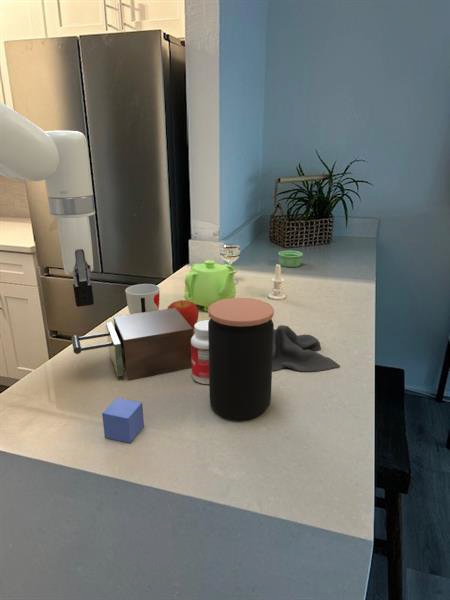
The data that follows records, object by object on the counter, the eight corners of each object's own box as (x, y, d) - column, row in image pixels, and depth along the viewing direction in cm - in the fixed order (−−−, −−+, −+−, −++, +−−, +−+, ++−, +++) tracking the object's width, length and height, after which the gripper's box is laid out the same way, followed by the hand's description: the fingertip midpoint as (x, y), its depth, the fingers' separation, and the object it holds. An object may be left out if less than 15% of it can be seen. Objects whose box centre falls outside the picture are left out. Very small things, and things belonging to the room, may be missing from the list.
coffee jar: (277, 394, 78) (281, 301, 72) (259, 429, 69) (262, 325, 63) (223, 383, 82) (222, 294, 76) (199, 414, 72) (196, 315, 66)
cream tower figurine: (285, 294, 130) (287, 260, 126) (286, 300, 125) (287, 265, 122) (268, 293, 131) (269, 260, 127) (268, 299, 126) (269, 265, 122)
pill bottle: (195, 368, 87) (194, 317, 84) (225, 370, 87) (225, 319, 83) (188, 384, 82) (186, 330, 78) (220, 386, 81) (220, 332, 77)
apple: (165, 337, 101) (163, 306, 99) (169, 324, 109) (167, 295, 106) (197, 337, 101) (197, 306, 98) (200, 324, 108) (199, 295, 106)
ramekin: (291, 269, 156) (291, 257, 154) (273, 264, 162) (273, 253, 161) (307, 265, 161) (307, 253, 160) (288, 260, 168) (289, 249, 166)
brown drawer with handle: (78, 384, 80) (73, 351, 78) (74, 357, 90) (69, 328, 88) (180, 364, 87) (178, 333, 85) (165, 342, 97) (164, 314, 95)
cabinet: (127, 380, 83) (123, 340, 80) (117, 353, 94) (113, 316, 91) (194, 367, 88) (193, 328, 85) (177, 342, 99) (175, 307, 96)
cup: (140, 336, 102) (136, 296, 98) (122, 326, 107) (119, 288, 104) (168, 327, 107) (166, 289, 104) (150, 318, 113) (147, 281, 109)
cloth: (226, 366, 88) (226, 339, 86) (246, 331, 105) (247, 307, 103) (339, 381, 82) (342, 352, 80) (341, 341, 99) (343, 316, 97)
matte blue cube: (104, 437, 67) (101, 413, 65) (119, 421, 71) (117, 397, 69) (130, 443, 66) (128, 418, 64) (144, 426, 70) (142, 402, 68)
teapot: (244, 298, 127) (245, 256, 123) (236, 315, 114) (237, 269, 110) (192, 294, 130) (191, 253, 126) (178, 311, 117) (176, 266, 113)
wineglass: (216, 281, 143) (215, 245, 139) (233, 277, 146) (233, 243, 142) (227, 286, 137) (227, 249, 133) (244, 282, 141) (245, 246, 137)
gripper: (48, 202, 80) (62, 295, 87) (50, 214, 67) (66, 321, 74) (89, 200, 83) (100, 290, 89) (99, 210, 70) (110, 315, 76)
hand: (84, 304), depth 82 cm, fingers closed
